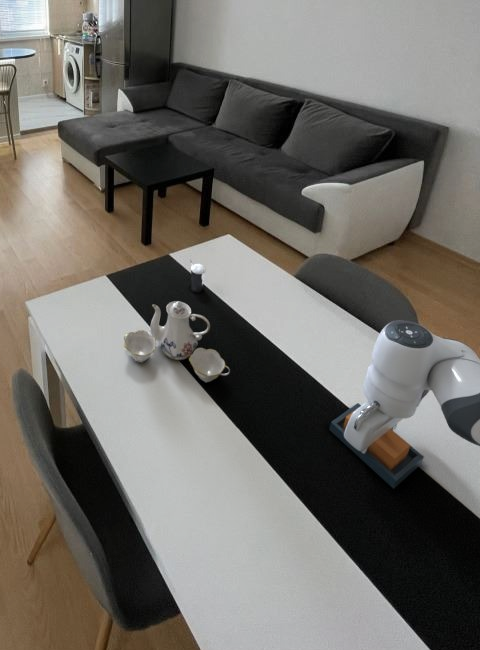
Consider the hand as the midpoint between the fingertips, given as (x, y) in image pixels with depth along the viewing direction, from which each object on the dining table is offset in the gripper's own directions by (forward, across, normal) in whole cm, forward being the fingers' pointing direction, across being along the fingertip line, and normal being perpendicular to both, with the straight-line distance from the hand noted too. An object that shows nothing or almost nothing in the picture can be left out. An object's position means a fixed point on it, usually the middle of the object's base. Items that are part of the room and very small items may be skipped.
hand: (375, 438), depth 91 cm
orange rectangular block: (+2, 0, 0) cm, 2 cm away
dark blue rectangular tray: (+3, 0, 0) cm, 3 cm away
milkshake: (+3, +1, +58) cm, 58 cm away
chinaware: (+3, -22, +40) cm, 45 cm away
